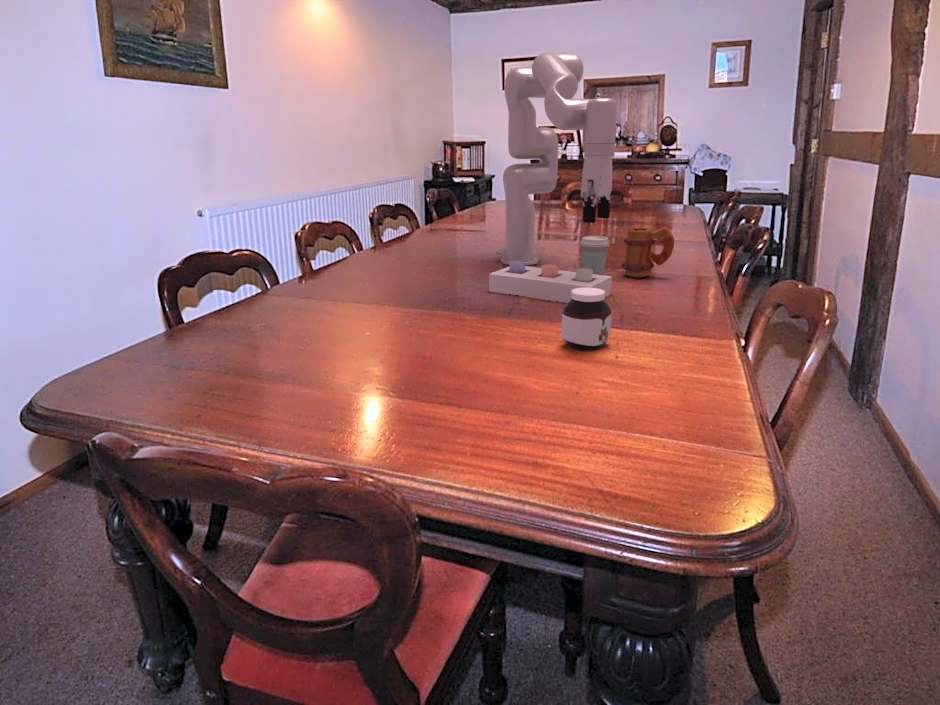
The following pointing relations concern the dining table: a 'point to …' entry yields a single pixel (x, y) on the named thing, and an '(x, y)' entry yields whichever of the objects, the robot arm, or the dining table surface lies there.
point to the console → (543, 284)
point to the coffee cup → (594, 253)
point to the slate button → (517, 267)
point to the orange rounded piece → (549, 271)
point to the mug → (646, 250)
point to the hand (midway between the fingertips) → (596, 220)
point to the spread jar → (586, 319)
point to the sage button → (584, 275)
